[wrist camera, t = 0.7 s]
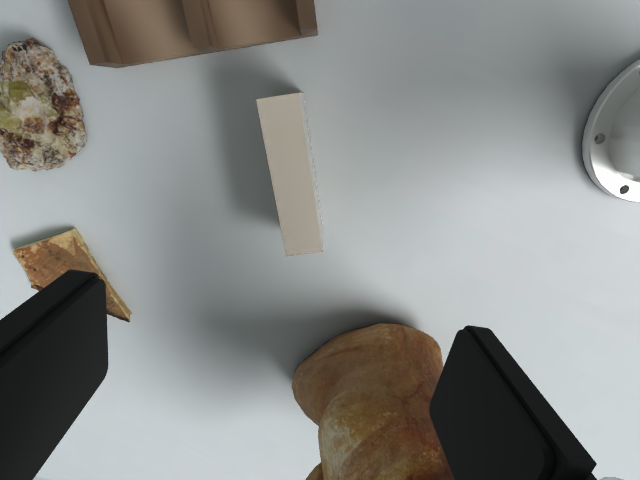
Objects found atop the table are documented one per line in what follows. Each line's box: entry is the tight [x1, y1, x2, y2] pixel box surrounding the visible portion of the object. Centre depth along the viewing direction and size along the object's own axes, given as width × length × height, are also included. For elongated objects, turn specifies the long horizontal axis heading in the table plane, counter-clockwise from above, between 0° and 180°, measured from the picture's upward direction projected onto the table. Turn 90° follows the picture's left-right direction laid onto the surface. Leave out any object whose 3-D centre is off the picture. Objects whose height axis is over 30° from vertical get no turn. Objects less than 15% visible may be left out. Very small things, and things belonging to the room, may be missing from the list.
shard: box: [13, 228, 131, 322], centre depth 37 cm, size 11×8×2 cm
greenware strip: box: [256, 93, 323, 256], centre depth 30 cm, size 3×12×6 cm, turn 8°
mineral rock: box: [0, 38, 87, 171], centre depth 30 cm, size 11×4×8 cm
